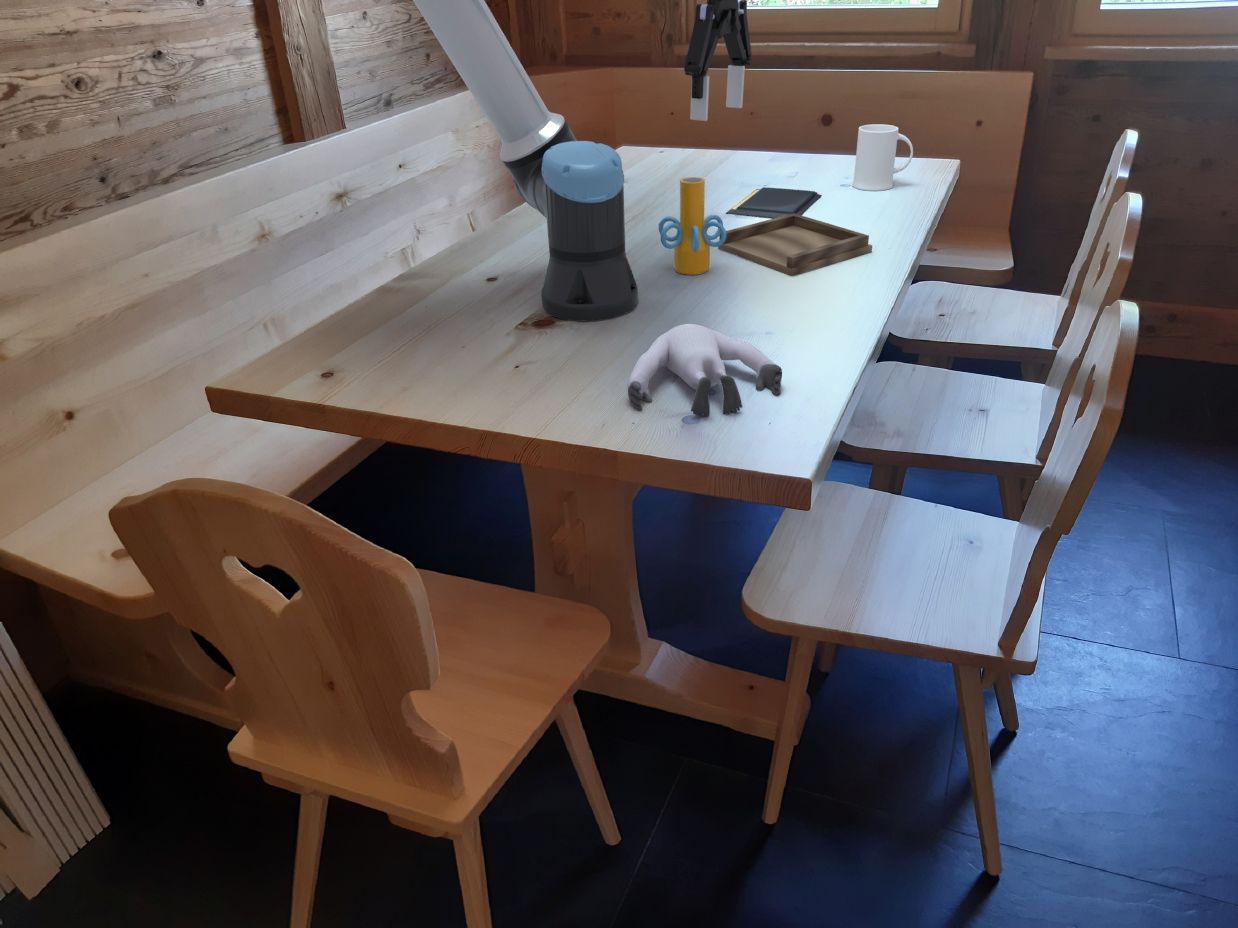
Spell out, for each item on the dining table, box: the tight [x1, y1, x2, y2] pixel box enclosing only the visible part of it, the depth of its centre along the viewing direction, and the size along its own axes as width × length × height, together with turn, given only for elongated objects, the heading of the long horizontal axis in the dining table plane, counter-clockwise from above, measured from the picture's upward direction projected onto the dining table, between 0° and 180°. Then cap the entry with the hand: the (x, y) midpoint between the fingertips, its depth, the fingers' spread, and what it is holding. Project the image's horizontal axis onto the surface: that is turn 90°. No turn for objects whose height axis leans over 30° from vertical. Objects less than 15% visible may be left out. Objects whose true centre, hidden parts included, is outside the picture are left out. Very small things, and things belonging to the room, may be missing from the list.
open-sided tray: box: [717, 213, 873, 277], centre depth 161 cm, size 19×19×3 cm
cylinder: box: [658, 176, 727, 276], centre depth 151 cm, size 12×10×15 cm
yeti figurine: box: [627, 323, 783, 418], centre depth 117 cm, size 20×7×20 cm
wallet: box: [725, 186, 823, 220], centre depth 187 cm, size 20×2×15 cm
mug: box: [851, 123, 914, 192], centre depth 193 cm, size 12×8×12 cm
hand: (717, 113), depth 150 cm, fingers open, 13 cm apart
